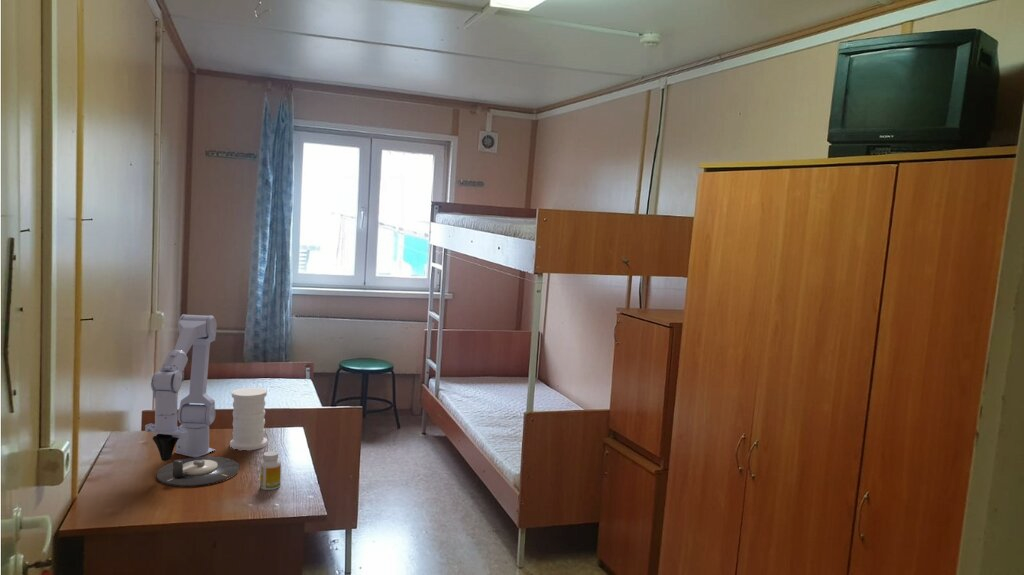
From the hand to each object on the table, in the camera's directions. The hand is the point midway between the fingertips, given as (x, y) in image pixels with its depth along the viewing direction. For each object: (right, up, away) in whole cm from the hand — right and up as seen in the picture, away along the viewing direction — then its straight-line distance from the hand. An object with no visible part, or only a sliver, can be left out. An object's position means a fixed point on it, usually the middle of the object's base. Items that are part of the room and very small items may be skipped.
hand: (166, 459), depth 200 cm
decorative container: (+12, -3, +32) cm, 34 cm away
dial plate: (+7, -5, +6) cm, 10 cm away
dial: (+6, -4, +4) cm, 8 cm away
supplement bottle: (+31, -7, -2) cm, 32 cm away
